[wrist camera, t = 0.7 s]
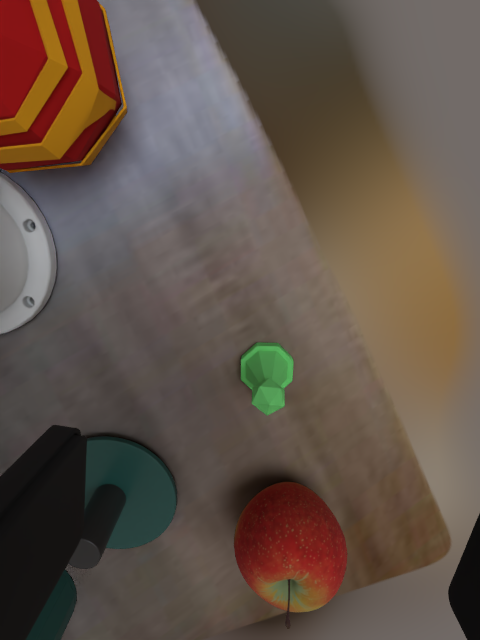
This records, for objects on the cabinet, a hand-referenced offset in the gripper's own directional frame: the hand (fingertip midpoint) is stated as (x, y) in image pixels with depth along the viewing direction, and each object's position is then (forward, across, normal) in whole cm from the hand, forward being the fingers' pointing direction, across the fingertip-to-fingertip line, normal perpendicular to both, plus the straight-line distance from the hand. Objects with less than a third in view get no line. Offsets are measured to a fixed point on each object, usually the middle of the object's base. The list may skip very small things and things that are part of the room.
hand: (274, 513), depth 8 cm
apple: (+20, -5, +16) cm, 26 cm away
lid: (+19, +10, +18) cm, 28 cm away
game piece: (+20, -1, +4) cm, 20 cm away
